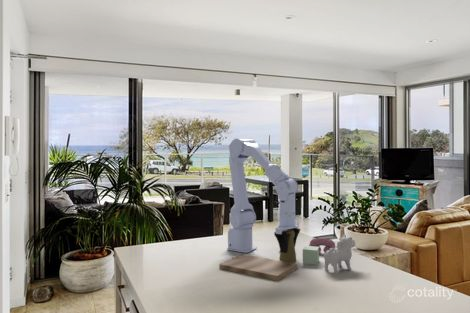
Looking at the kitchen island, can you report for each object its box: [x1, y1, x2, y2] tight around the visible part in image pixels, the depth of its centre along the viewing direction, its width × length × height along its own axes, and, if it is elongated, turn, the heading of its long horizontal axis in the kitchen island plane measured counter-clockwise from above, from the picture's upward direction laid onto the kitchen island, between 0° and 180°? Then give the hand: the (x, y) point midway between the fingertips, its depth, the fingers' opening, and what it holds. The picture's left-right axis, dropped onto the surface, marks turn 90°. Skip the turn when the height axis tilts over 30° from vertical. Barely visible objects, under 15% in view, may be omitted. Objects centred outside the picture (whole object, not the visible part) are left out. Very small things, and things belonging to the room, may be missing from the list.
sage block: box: [302, 245, 320, 266], centre depth 131 cm, size 5×5×5 cm
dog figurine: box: [323, 234, 356, 274], centre depth 123 cm, size 5×13×11 cm, turn 126°
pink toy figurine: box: [308, 237, 336, 254], centre depth 142 cm, size 10×5×7 cm, turn 71°
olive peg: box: [279, 229, 297, 263], centre depth 134 cm, size 6×6×11 cm
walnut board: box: [218, 253, 298, 282], centre depth 125 cm, size 22×14×2 cm, turn 56°
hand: (287, 250), depth 134 cm, fingers open, 6 cm apart
